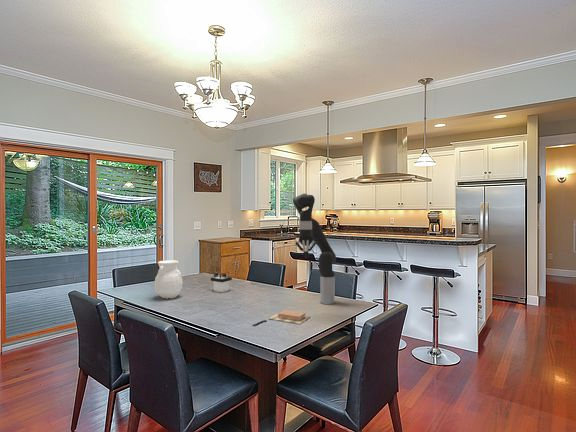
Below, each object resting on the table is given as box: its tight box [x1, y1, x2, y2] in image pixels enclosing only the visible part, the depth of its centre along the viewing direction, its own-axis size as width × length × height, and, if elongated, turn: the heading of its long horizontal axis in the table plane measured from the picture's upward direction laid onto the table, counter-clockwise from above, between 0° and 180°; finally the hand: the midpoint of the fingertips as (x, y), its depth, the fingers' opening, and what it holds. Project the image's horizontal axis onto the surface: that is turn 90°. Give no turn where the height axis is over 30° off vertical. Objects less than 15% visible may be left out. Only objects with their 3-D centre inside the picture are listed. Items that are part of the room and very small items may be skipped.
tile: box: [277, 309, 306, 321], centre depth 197 cm, size 2×8×13 cm
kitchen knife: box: [252, 319, 268, 327], centre depth 180 cm, size 29×1×10 cm
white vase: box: [153, 259, 183, 300], centre depth 247 cm, size 19×18×25 cm
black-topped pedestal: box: [210, 272, 233, 293], centre depth 266 cm, size 28×26×13 cm
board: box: [268, 313, 311, 325], centre depth 198 cm, size 19×14×1 cm
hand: (305, 257), depth 210 cm, fingers closed
